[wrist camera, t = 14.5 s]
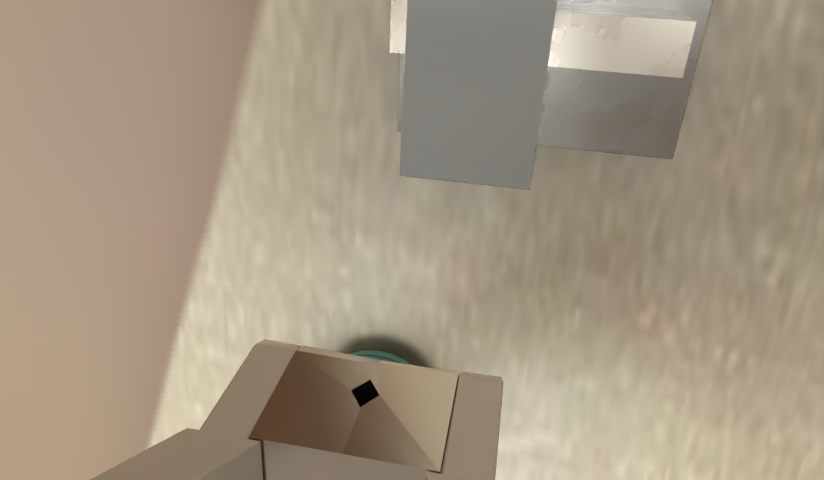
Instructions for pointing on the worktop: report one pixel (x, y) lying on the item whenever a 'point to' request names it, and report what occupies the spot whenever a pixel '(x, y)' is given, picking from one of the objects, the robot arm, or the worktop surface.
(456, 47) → the module
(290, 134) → the worktop surface
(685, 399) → the worktop surface
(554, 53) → the grey ledge plate
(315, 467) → the robot arm
